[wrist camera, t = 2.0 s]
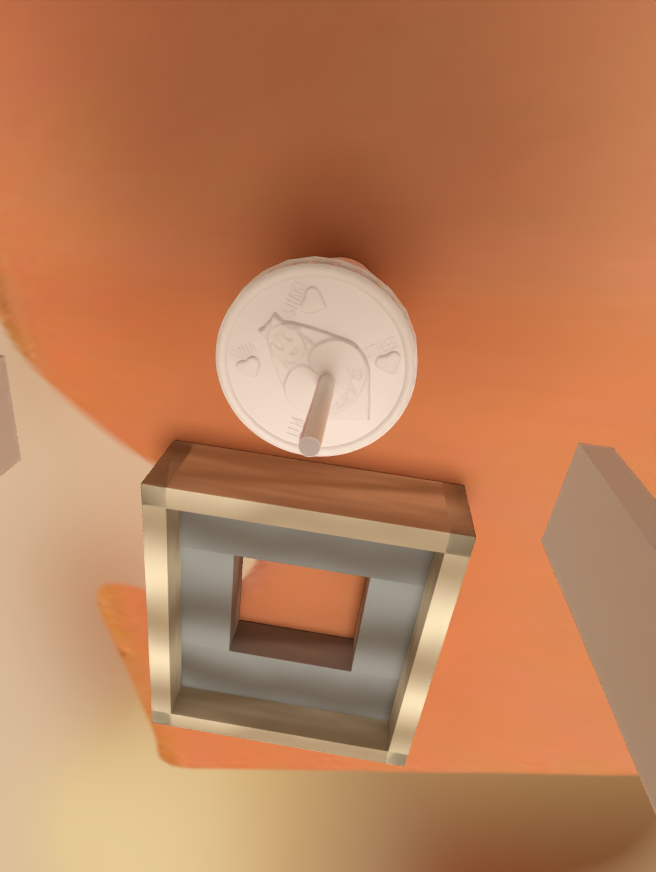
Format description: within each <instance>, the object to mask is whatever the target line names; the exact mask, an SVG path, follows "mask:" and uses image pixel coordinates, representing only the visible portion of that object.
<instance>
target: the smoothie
mask: <svg viewBox="0 0 656 872" xmlns="http://www.w3.org/2000/svg"><path fill="white" fill-rule="evenodd" d="M417 363H418V356H417V343H416V334H415V332H414V329H413V326H412V324H411V321H410V318H409V315H408V313H407V310H406V309H405V308H404V306H403V305H402V303H401V302H400V301H399V299H398V298H397V296H396V295H395V294H394V292H393V291H392V290H391V288H389V287H388V286H387V285H386V284H384V283H383V282H382V281H381V280H379V279H378V278H377V277H376V276H374V275H373V274H372V273H371V272H370V271H369V270H368V269H367V268H366V267H365V266H364V265H362V264H361V263H359V262H358V261H356V260H353V259H350V258H345V257H334V258H326V257H318V256H312V257H305V258H298V259H290V260H286V261H284V262H282V263H279V264H277V265H275V266H273V267H270V268H268V269H266V270H264V271H262V272H261V273H260V274H259V275H257V276H256V277H255V278H254V279H253V280H252V281H250V282H249V283H248V284H247V285H246V286H244V287H243V288H242V290H241V291H240V293H239V294H238V296H237V298H236V299H235V301H234V302H233V303H232V305H231V306H230V308H229V309H228V311H227V313H226V315H225V317H224V319H223V321H222V324H221V327H220V330H219V334H218V338H217V345H216V367H217V373H218V378H219V382H220V385H221V388H222V390H223V393H224V395H225V397H226V399H227V401H228V403H229V405H230V406H231V408H232V410H233V411H234V412H235V414H236V415H237V416H238V418H239V419H240V420H241V421H242V422H243V423H244V424H245V425H246V426H247V427H248V428H249V429H250V430H251V431H252V432H254V433H255V434H256V435H257V436H259V437H260V438H262V439H263V440H265V441H267V442H268V443H270V444H272V445H274V446H276V447H278V448H281V449H283V450H286V451H289V452H292V453H296V454H301V455H304V456H306V457H314V456H335V455H341V454H346V453H349V452H353V451H355V450H358V449H361V448H363V447H365V446H367V445H369V444H371V443H372V442H374V441H376V440H377V439H379V438H380V437H381V436H383V435H384V434H385V433H386V432H387V431H388V430H389V429H391V428H392V426H393V425H394V424H395V423H396V422H397V421H398V419H399V418H400V417H401V415H402V414H403V412H404V410H405V409H406V407H407V405H408V403H409V401H410V398H411V396H412V393H413V390H414V386H415V381H416V374H417Z"/></svg>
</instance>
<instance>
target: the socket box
mask: <svg viewBox="0 0 656 872" xmlns="http://www.w3.org/2000/svg"><path fill="white" fill-rule="evenodd" d="M141 496H142V517H143V538H144V558H145V577H146V578H145V579H146V600H147V621H148V641H149V662H150V683H151V704H152V723H157V724H163V725H169V726H174V727H180V728H186V729H192V730H197V731H203V732H209V733H214V734H220V735H226V736H232V737H237V738H243V739H249V740H255V741H260V742H266V743H272V744H277V745H283V746H289V747H295V748H300V749H306V750H312V751H317V752H323V753H329V754H335V755H340V756H346V757H352V758H357V759H363V760H369V761H375V762H380V763H386V764H392V765H398V766H403V767H404V766H405V763H406V760H407V756H408V753H409V750H410V747H411V744H412V740H413V737H414V734H415V731H416V728H417V724H418V721H419V718H420V715H421V712H422V709H423V705H424V702H425V699H426V696H427V693H428V689H429V686H430V683H431V680H432V677H433V674H434V670H435V667H436V664H437V661H438V658H439V654H440V651H441V648H442V645H443V642H444V638H445V635H446V632H447V629H448V626H449V623H450V619H451V616H452V613H453V610H454V607H455V603H456V600H457V597H458V594H459V591H460V588H461V584H462V581H463V578H464V575H465V572H466V568H467V565H468V562H469V559H470V556H471V552H472V549H473V546H474V543H475V540H476V534H475V530H474V526H473V521H472V517H471V513H470V508H469V504H468V500H467V495H466V491H465V487H464V486H463V485H457V484H451V483H444V482H438V481H432V480H425V479H419V478H412V477H406V476H400V475H393V474H387V473H381V472H374V471H368V470H361V469H355V468H349V467H342V466H336V465H330V464H323V463H317V462H310V461H304V460H298V459H291V458H285V457H278V456H272V455H266V454H259V453H253V452H247V451H240V450H234V449H227V448H221V447H215V446H208V445H202V444H196V443H189V442H183V441H176V440H174V441H173V442H172V444H171V445H170V446H169V448H168V449H167V450H166V452H165V453H164V454H163V456H162V457H161V458H160V459H159V461H158V462H157V463H156V465H155V466H154V467H153V469H152V470H151V471H150V473H149V474H148V475H147V476H146V478H145V479H144V480H143V482H142V483H141ZM243 557H248V558H253V559H259V560H266V561H272V562H278V563H284V564H290V565H296V566H302V567H308V568H315V569H321V570H327V571H333V572H339V573H345V574H351V575H357V576H363V577H366V580H365V585H364V590H363V595H362V600H361V605H360V610H359V615H358V620H357V625H356V629H355V634H354V639H348V638H342V637H336V636H330V635H324V634H318V633H312V632H306V631H300V630H294V629H288V628H282V627H276V626H270V625H264V624H258V623H252V622H246V621H240V620H239V613H240V597H241V581H242V564H243Z"/></svg>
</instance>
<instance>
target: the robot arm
mask: <svg viewBox="0 0 656 872" xmlns="http://www.w3.org/2000/svg"><path fill="white" fill-rule="evenodd" d="M20 460H21V457H20V450H19V444H18V438H17V431H16V425H15V419H14V413H13V406H12V400H11V394H10V387H9V381H8V375H7V369H6V362H5V356H2V355H0V476H1V475H3V474H4V473H5V472H6V471H7V470H9V469H10V468H11V467H12V466H14V465H15V464H16V463H17V462H19V461H20ZM541 542H542V544H543V547H544V549H545V552H546V554H547V556H548V559H549V561H550V563H551V566H552V568H553V571H554V573H555V575H556V578H557V580H558V583H559V585H560V587H561V590H562V592H563V595H564V597H565V599H566V602H567V604H568V606H569V609H570V611H571V614H572V616H573V618H574V621H575V623H576V626H577V628H578V630H579V633H580V635H581V638H582V640H583V642H584V645H585V647H586V650H587V652H588V654H589V657H590V659H591V661H592V664H593V666H594V669H595V671H596V673H597V676H598V678H599V681H600V683H601V685H602V688H603V690H604V693H605V695H606V697H607V700H608V702H609V705H610V707H611V709H612V712H613V714H614V716H615V719H616V721H617V724H618V726H619V728H620V731H621V733H622V736H623V738H624V740H625V743H626V745H627V748H628V750H629V752H630V755H631V757H632V759H633V762H634V764H635V767H636V769H637V771H638V774H639V776H640V779H641V781H642V783H643V786H644V788H645V791H646V793H647V795H648V797H649V800H650V803H651V805H652V807H653V810H654V812H655V814H656V500H655V498H654V497H653V496H652V495H651V494H650V492H649V491H648V490H647V489H646V487H645V486H644V485H643V484H642V483H641V481H640V480H639V479H638V478H637V476H636V475H635V474H634V473H633V471H632V470H631V469H630V468H629V467H628V465H627V464H626V463H625V462H624V460H623V459H622V458H621V457H620V456H619V454H618V453H617V452H616V451H615V449H614V448H611V447H604V446H597V445H591V444H584V443H578V446H577V448H576V451H575V454H574V456H573V459H572V462H571V464H570V467H569V469H568V472H567V475H566V477H565V480H564V483H563V485H562V488H561V491H560V493H559V496H558V499H557V501H556V504H555V506H554V509H553V512H552V514H551V517H550V520H549V522H548V525H547V528H546V530H545V533H544V535H543V538H542V541H541Z"/></svg>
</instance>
